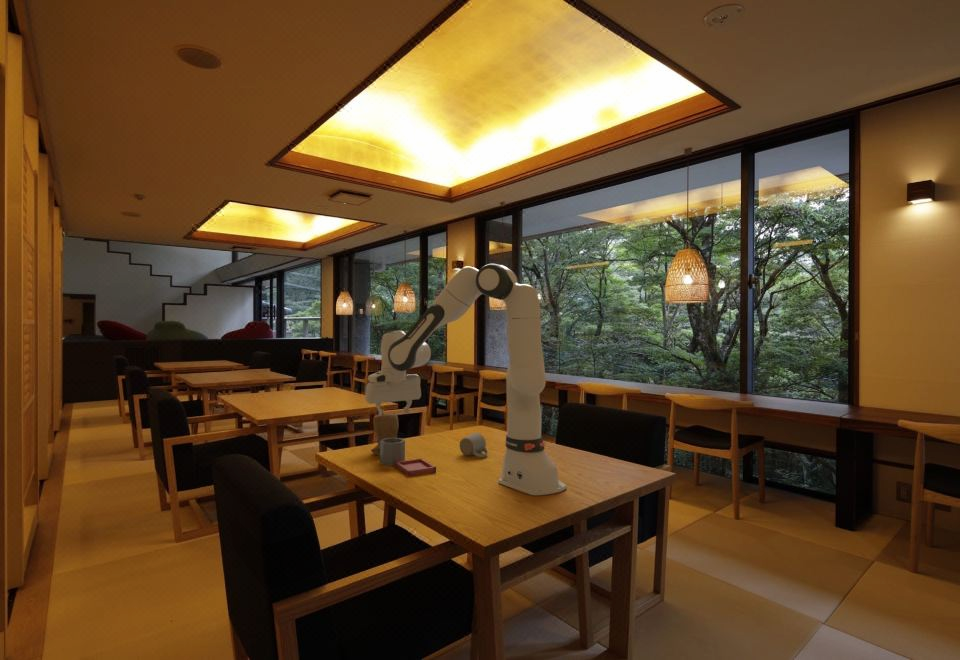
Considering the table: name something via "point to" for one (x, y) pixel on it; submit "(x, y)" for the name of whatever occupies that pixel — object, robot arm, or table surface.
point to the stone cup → (385, 428)
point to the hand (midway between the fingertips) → (394, 413)
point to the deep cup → (392, 451)
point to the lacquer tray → (415, 467)
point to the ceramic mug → (473, 445)
